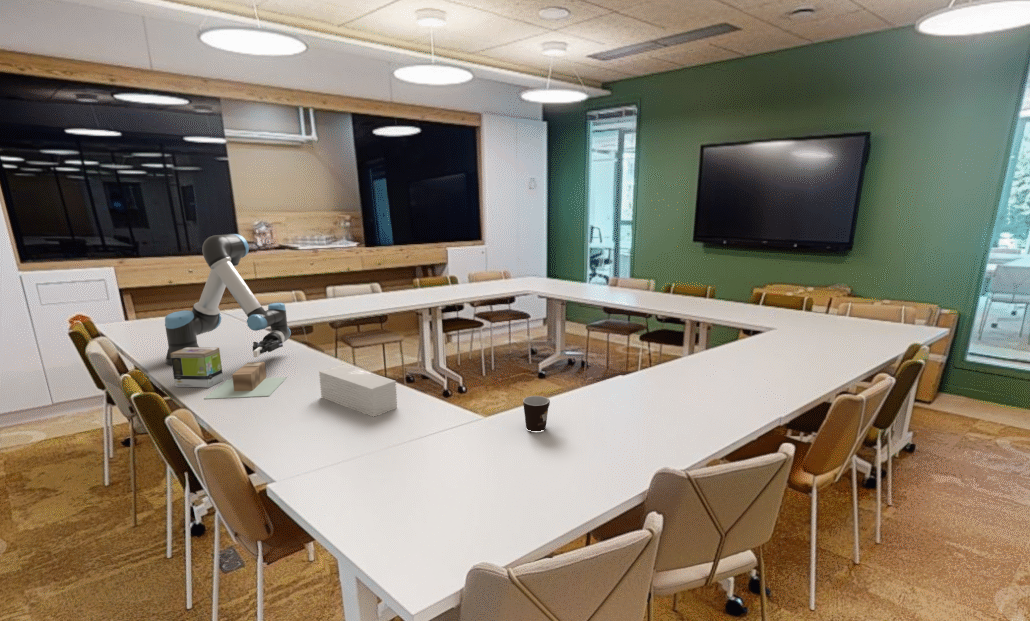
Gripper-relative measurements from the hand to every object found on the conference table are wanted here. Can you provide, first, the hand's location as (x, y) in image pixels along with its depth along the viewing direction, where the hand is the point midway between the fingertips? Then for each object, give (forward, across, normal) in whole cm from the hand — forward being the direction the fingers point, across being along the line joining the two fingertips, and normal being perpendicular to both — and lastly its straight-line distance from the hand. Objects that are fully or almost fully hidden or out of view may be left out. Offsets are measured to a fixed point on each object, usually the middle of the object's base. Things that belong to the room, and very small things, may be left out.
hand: (255, 354), depth 221 cm
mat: (+11, 0, -11) cm, 16 cm away
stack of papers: (+33, -47, -12) cm, 59 cm away
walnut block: (-1, 0, -7) cm, 7 cm away
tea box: (+3, +22, -11) cm, 25 cm away
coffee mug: (+65, -112, -12) cm, 129 cm away
